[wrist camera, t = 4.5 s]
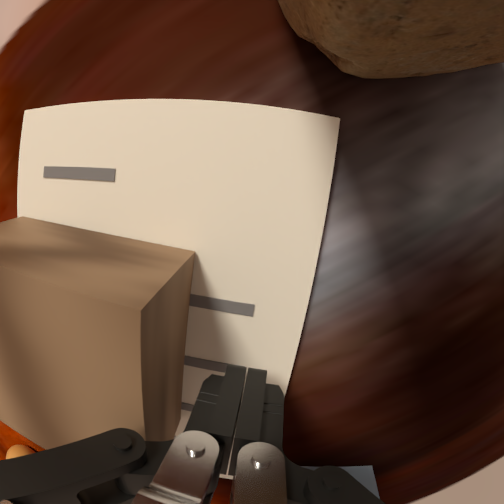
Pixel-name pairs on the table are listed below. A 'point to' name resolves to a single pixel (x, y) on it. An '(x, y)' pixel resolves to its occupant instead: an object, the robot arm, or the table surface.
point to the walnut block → (90, 332)
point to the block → (401, 34)
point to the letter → (197, 210)
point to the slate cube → (360, 476)
